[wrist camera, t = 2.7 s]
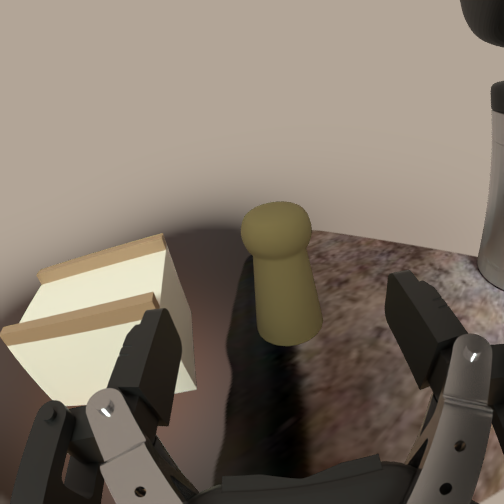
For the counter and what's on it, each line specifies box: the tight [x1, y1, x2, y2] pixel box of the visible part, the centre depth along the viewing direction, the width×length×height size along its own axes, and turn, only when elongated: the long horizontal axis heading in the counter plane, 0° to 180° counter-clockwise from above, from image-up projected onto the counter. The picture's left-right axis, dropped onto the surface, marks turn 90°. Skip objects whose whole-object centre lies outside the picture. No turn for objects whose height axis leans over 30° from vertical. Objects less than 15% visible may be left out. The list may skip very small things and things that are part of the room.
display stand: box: [0, 233, 197, 406], centre depth 23 cm, size 14×10×9 cm
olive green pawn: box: [241, 202, 323, 346], centre depth 24 cm, size 6×6×11 cm
